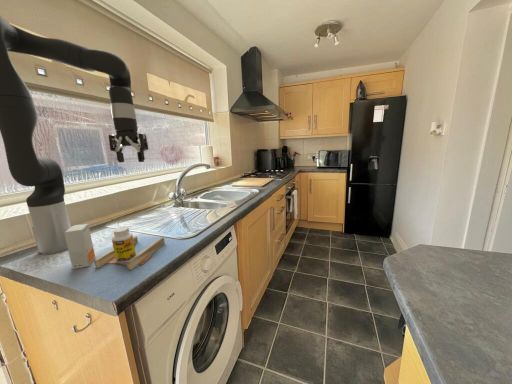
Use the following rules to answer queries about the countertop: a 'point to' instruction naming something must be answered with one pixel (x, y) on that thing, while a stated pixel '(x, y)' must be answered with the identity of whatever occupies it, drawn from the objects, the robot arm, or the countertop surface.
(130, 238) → the supplement bottle
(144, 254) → the guide channel
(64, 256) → the countertop surface
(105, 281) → the countertop surface
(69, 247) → the skincare box
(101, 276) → the countertop surface
